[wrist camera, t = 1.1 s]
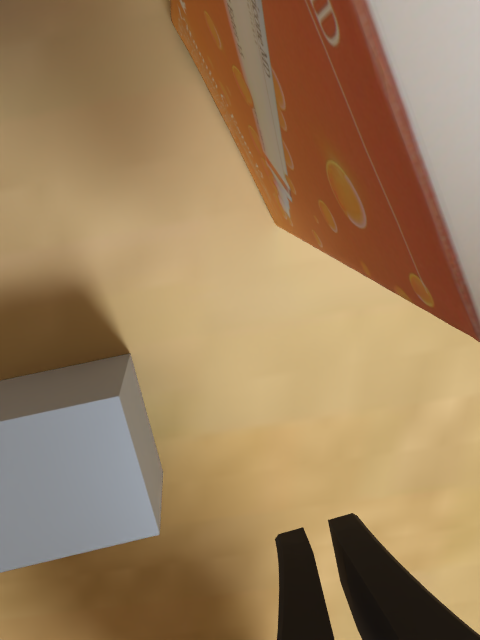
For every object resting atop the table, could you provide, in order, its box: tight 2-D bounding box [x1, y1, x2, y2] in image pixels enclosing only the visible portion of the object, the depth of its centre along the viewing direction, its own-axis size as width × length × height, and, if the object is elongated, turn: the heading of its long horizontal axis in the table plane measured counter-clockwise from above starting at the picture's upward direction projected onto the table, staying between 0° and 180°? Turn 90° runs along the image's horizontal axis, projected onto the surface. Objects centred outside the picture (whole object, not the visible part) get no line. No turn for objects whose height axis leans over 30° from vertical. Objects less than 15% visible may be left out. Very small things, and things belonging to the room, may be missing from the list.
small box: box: [170, 0, 480, 342], centre depth 10 cm, size 8×6×13 cm
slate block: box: [0, 354, 163, 573], centre depth 18 cm, size 6×7×4 cm
